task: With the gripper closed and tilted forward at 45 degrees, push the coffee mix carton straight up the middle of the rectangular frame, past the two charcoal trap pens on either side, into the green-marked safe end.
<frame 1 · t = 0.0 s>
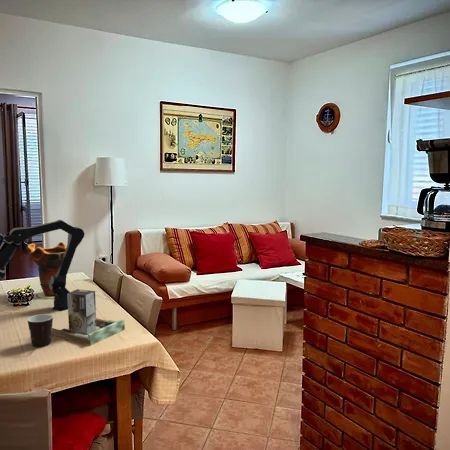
rectangular frame: (86, 331, 168), on the table
decorative vase: (52, 294, 218), on the table
coffee box: (82, 331, 169), resting in rectangular frame
coffee mug: (40, 346, 153), on the table
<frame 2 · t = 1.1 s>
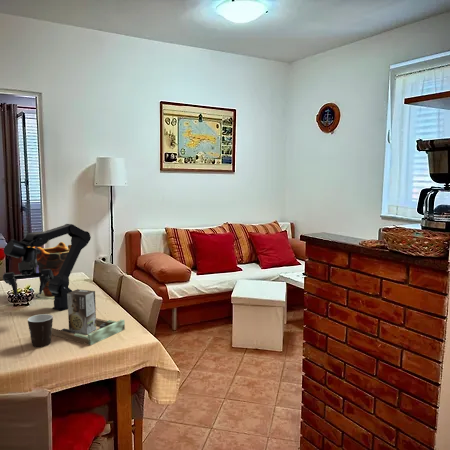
hand: (28, 295, 171), 13 cm above the table, tool tilted 35°, fingers open, 9 cm apart
nothing on the table moved.
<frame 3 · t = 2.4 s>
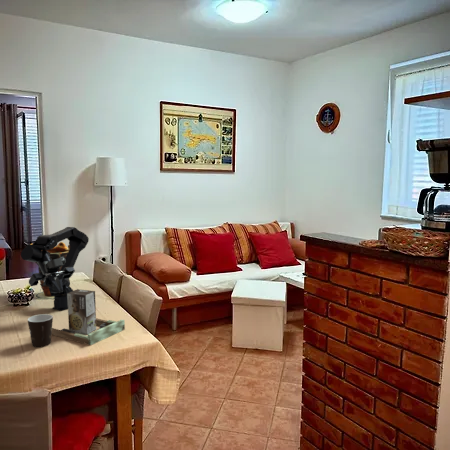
hand: (60, 291, 175), 14 cm above the table, tool tilted 45°, fingers closed
nothing on the table moved.
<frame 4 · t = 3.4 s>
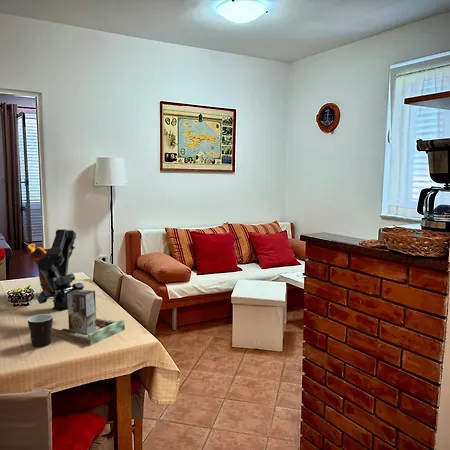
hand: (70, 309, 172), 7 cm above the table, tool tilted 45°, fingers closed
nothing on the table moved.
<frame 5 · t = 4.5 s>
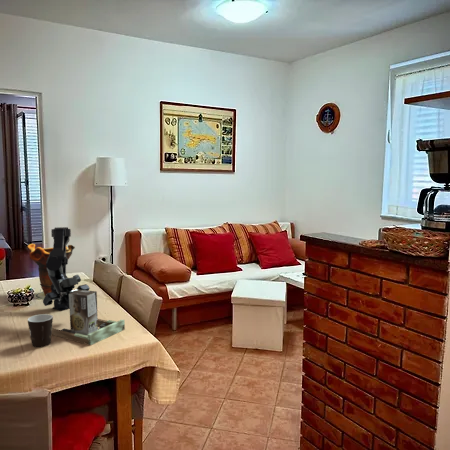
hand: (75, 311, 170), 7 cm above the table, tool tilted 45°, fingers closed
coffee box: (84, 331, 168), resting in rectangular frame, touching gripper
everything else where it was.
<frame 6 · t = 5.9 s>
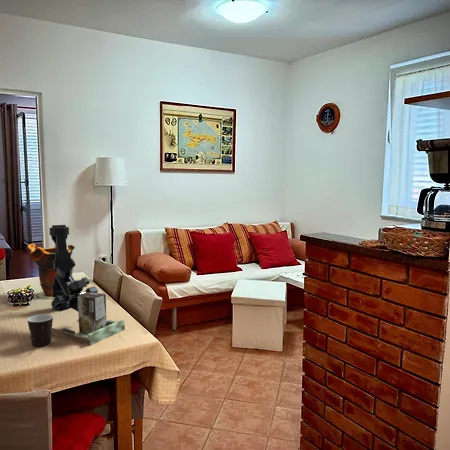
hand: (84, 314, 167), 7 cm above the table, tool tilted 45°, fingers closed
coffee box: (93, 334, 165), resting in rectangular frame, touching gripper
everything else where it was.
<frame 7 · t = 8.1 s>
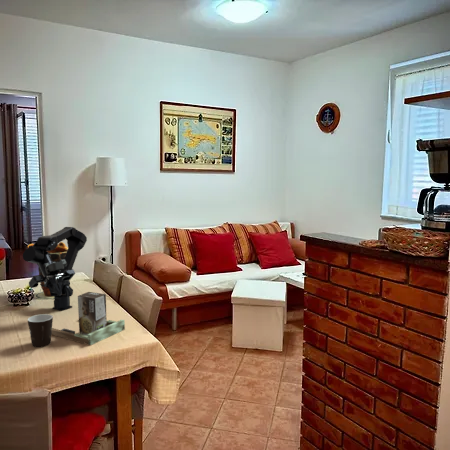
hand: (60, 294, 175), 12 cm above the table, tool tilted 40°, fingers closed
coffee box: (93, 334, 165), resting in rectangular frame
everything else where it was.
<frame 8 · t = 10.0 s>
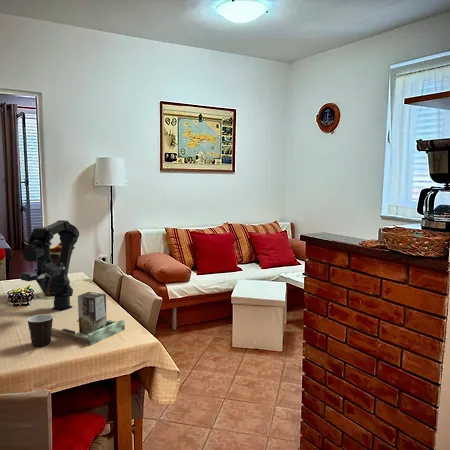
hand: (44, 292, 180), 12 cm above the table, tool pointing down, fingers closed
nothing on the table moved.
at the end: coffee box inside the target area (2.3 cm from its centre), resting in rectangular frame; coffee box tilted 0°; the gripper is holding nothing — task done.
